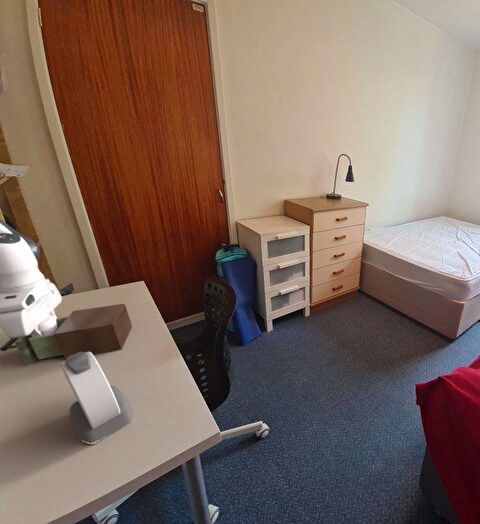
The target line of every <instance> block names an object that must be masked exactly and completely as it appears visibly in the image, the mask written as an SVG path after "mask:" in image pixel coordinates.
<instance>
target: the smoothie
mask: <svg viewBox="0 0 480 524" xmlns="http://www.w3.org/2000/svg"><path fill="white" fill-rule="evenodd" d="M57 318H58V317H57V316H56V313H55V314H53V313H50V314H49V315H48V316H47V317H46V318H45V319H44V320H43V321H42V322H41V323H40V324H39V325H38V329H37V330H39V331H43V334H44V335H49V334H54V333H55V332H56V331H57V330H58V327H57V322H56V319H57Z"/></svg>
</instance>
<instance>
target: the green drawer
mask: <svg viewBox="0 0 480 524" xmlns="http://www.w3.org/2000/svg"><path fill="white" fill-rule="evenodd" d="M68 317H69V316H64V317H57V319H56V322H57V327H58V328H59V327H60V326H61V325H62V324H63V323H64V321H65V320H66V319H67V318H68ZM16 348H17V350H18V352H19V353H20V355H21V357H22V359H23V360H24V363H25V364H26V365H29V364H32V363H34V361H35V360H36V359H38V360H43V359H49V358H55V357H59V356H64V355H63V353H62V351H61V349H60V347H59V345H58V343H57V340H56V338H55V336H54V334H49V335H43V336H37V337H32V335H28V336H24V337H18V338H9V339H8V340H7V341H6V342H5V343H4V344H3V345H2V346H1V347H0V351H1V352H7V351H8V350H11V349H16Z"/></svg>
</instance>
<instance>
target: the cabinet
mask: <svg viewBox="0 0 480 524" xmlns="http://www.w3.org/2000/svg"><path fill="white" fill-rule="evenodd" d="M67 317H68V318H67V319H66V320H65V321H64V323H63V324H62V325H61V326H60V327H59V328H58V330H57V331H56V332H55V333H54V336H55V338H56V340H57V343H58V345H59V347H60V349H61V351H62V353H63V355H62V356H63V357H64V359H65V360H66V359H67V357H69V356H71V355H74V354H76V353H78V352H85V353H86V352H91V353H92V354H93V356H96V355H100V354H106V353H111V352H117V351H121V350H123V348H124V345H125V343H126V341H127V339H128V337H129V334H130V333H131V331H132V329H133V324H132V321H131V319H130V315H129V312H128V309H127V305H126V303H119V304H112V305H105V306H99V307H91V308H85V309H84V308H83V309H78V310H77V309H76V310H73V311H72V312H71V313H70V314H69V315H68V316H67Z"/></svg>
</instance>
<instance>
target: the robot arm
mask: <svg viewBox="0 0 480 524" xmlns="http://www.w3.org/2000/svg"><path fill="white" fill-rule="evenodd" d="M40 256H41V248H40V246H39V245H38V243H37V242H35V241H34V240H33V239H32V238H30V237H28V236H26V235H25V234H22V232H19V231H17V230H16V229H14V228H13V227H11V225H9V224H7V223H6V222H5V221H3V220H2V219H0V327H1V329H2V332H4V334H5V335H6V336H7V337H8V338H9V339H11V338H18V337H24V336H28V335H32V337H37V336H43V335H44V334H43V331H39V330H37V329H38V325H39V324H40V323H41V322H42V321H43V320H44V319H45V318H46V317H47V316H48V315H49V314H50V313H53V314H55V315H56V313H55V309H56V308H57V307H58V306H59V305H60V304H61V303H62V302H63V298H62V295H61V292H60V291H59V289H58V288H57V286H56V285H55V283H53V282H51V281H50V279H49V278H46V277H45V275H44V274H43V273H42V271H40V269H39V260H40Z"/></svg>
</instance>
